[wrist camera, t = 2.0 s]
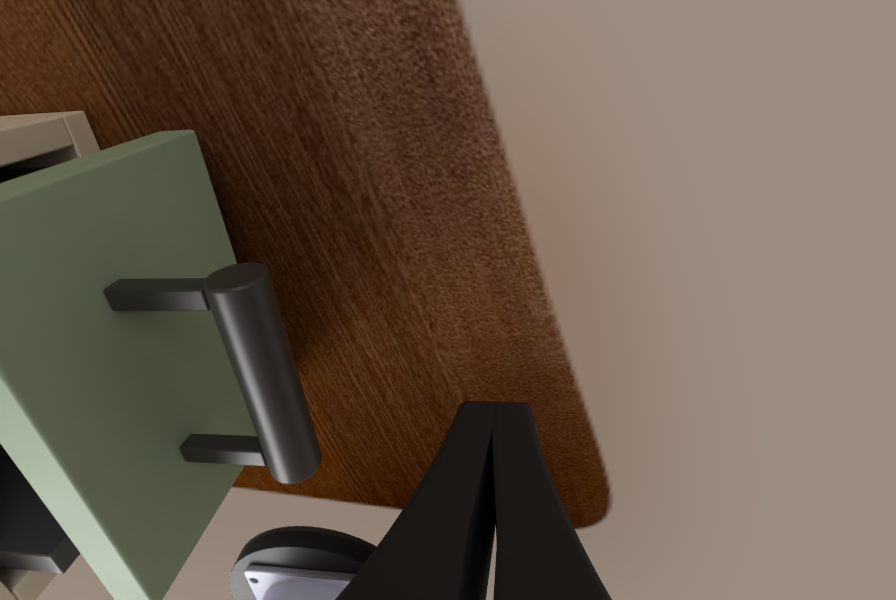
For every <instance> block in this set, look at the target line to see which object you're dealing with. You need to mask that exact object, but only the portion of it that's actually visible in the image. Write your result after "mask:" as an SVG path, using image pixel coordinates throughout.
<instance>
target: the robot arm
mask: <svg viewBox="0 0 896 600" xmlns="http://www.w3.org/2000/svg"><path fill="white" fill-rule="evenodd" d="M495 525H496V534H497V535H496V536H497V551H496V567H495V584H494V600H612V599H611V598H610V596H609V594H608V592H607V590H606V589H605V587H604V585H603V583H602V582H601V580H600V578H599V576H598V574H597V572H596V571H595V569H594V567H593V565H592V563H591V561H590V559H589V557H588V555H587V554H586V552H585V550H584V548H583V546H582V544H581V542H580V540H579V538H578V536H577V533H576V531H575V529H574V527H573V525H572V523H571V521H570V519H569V517H568V515H567V512H566V510H565V508H564V506H563V503H562V501H561V499H560V496H559V494H558V492H557V489H556V487H555V484H554V482H553V479H552V477H551V475H550V472H549V469H548V467H547V464H546V461H545V459H544V456H543V453H542V450H541V446H540V443H539V440H538V437H537V433H536V429H535V425H534V421H533V415H532V407H531V406H529V405H528V404H527V403H524V402H490V401H464V402H463V403H461V404H460V405H459V407H458V410H457V413H456V415H455V418H454V420H453V422H452V424H451V427H450V429H449V431H448V433H447V435H446V437H445V439H444V441H443V443H442V445H441V447H440V449H439V451H438V452H437V454H436V456H435V458H434V460H433V461H432V463H431V465H430V466H429V468H428V470H427V472H426V473H425V475H424V477H423V479H422V480H421V482H420V484H419V485H418V487H417V489H416V490H415V492H414V493H413V495H412V496H411V498H410V499H409V501H408V502H407V504H406V506H405V507H404V509H403V510H402V512H401V513H400V515H399V516H398V518H397V519H396V521H395V522H394V524H393V525H392V527H391V528H390V530H389V531H388V532H387V534H386V535H385V537H384V538H383V539H382V541H381V542H380V543H379V545H378V546H377V547H376V549H375V550H374V552H373V553H372V554H371V556H370V557H369V558H368V559H367V561H366V562H365V563H364V565H363V566H362V567H361V568H360V570H359V571H358V572H357V574H355V573H343V572H331V571H320V570H308V569H296V568H284V567H272V566H260V565H249V566H247V568H246V570H245V572H244V574H245V576H246V578H247V580H248V583H249V585H250V587H251V589H252V591H253V593H254V595H255V597H256V599H257V600H486V594H487V586H488V579H489V571H490V563H491V556H492V548H493V541H494V533H495Z"/></svg>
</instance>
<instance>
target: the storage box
mask: <svg viewBox="0 0 896 600" xmlns="http://www.w3.org/2000/svg"><path fill="white" fill-rule="evenodd" d="M98 151H101V150H100V148H99V145H98V143H97V141H96V138H95V136H94V133H93V131H92V129H91V126H90V124H89V121H88V119H87V117H86V114H85V112H84V111H69V112H54V113H39V114H24V115H9V116H0V169H21V168H42V167H52V166H55V165H58V164H61V163H64V162H67V161H70V160H73V159H76V158H79V157H82V156H85V155H89V154H92V153H95V152H98ZM56 575H57V573H52V572H41V571H30V570H19V569H9V568H0V600H36V599H37V597H38V596H39V595H40V594H41V593H42V592H43V590H44V589H45V588H46V587H47V586H48V584H49V583H50V582H51V580H53V578H54V577H55V576H56Z"/></svg>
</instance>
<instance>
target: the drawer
mask: <svg viewBox="0 0 896 600" xmlns="http://www.w3.org/2000/svg"><path fill="white" fill-rule="evenodd" d="M321 460H322V454H321V451H320V447H319V444H318V440H317V437H316V433H315V430H314V426H313V423H312V419H311V416H310V412H309V409H308V405H307V402H306V398H305V395H304V391H303V388H302V384H301V381H300V377H299V374H298V370H297V367H296V363H295V360H294V356H293V353H292V349H291V346H290V342H289V339H288V335H287V332H286V328H285V325H284V321H283V318H282V314H281V311H280V307H279V304H278V300H277V297H276V293H275V290H274V286H273V283H272V279H271V276H270V272H269V270H268V268H267V267H266V266H265V265H263V264H260V263H240V264H237V262H236V259H235V255H234V252H233V249H232V246H231V243H230V240H229V237H228V234H227V230H226V227H225V224H224V221H223V218H222V215H221V212H220V208H219V205H218V202H217V199H216V196H215V193H214V190H213V187H212V183H211V180H210V177H209V174H208V171H207V168H206V165H205V162H204V158H203V155H202V152H201V149H200V146H199V143H198V140H197V136H196V133H195V131H194V130H175V131H159V132H156V133H153V134H150V135H147V136H144V137H141V138H138V139H135V140H132V141H128V142H125V143H122V144H119V145H116V146H113V147H110V148H107V149H104V150H101V151H98V152H95V153H92V154H89V155H85V156H82V157H79V158H76V159H73V160H70V161H67V162H64V163H61V164H58V165H55V166H52V167H42V168H21V169H0V568H9V569H19V570H30V571H41V572H52V573H65V572H66V570H67V569H68V568H69V567H70V566H71V564H72V563H73V562H74V561H75V559H76V558H77V557H78V556H79V555H80V553H81V555H82V556H83V557H84V559H85V560H86V561H87V563H88V564H89V565H90V567H91V568H92V570H93V571H94V572H95V574H96V575H97V576H98V578H99V579H100V580H101V582H102V583H103V585H104V586H105V587H106V589H107V590H108V591H109V593H110V594H111V596H112V597H113V598H114V600H162V599H163V598H164V596H165V594H166V593H167V591H168V590H169V588H170V586H171V585H172V583H173V581H174V580H175V578H176V576H177V575H178V573H179V571H180V570H181V568H182V567H183V565H184V563H185V562H186V560H187V558H188V557H189V555H190V554H191V552H192V550H193V549H194V547H195V545H196V544H197V542H198V540H199V539H200V537H201V536H202V534H203V532H204V531H205V529H206V527H207V526H208V524H209V523H210V521H211V519H212V517H213V516H214V514H215V513H216V511H217V510H218V508H219V506H220V505H221V503H222V501H223V500H224V498H225V496H226V495H227V493H228V492H229V490H230V488H231V487H232V485H233V483H234V482H235V480H236V478H237V477H238V475H239V474H240V472H241V470H242V469H243V467H244V465H252V466H267V465H268V466H269V469H270V472H271V474H272V476H273V478H274V479H275V480H277V481H278V482H280V483H283V484H295V483H299V482H302V481H304V480H306V479H308V478H309V477H311V476H312V475H313V474H314V473H315V472H316V471H317V470H318V468H319V466H320V464H321Z"/></svg>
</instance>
